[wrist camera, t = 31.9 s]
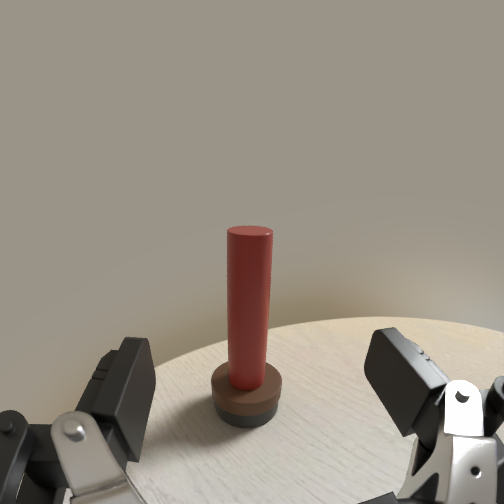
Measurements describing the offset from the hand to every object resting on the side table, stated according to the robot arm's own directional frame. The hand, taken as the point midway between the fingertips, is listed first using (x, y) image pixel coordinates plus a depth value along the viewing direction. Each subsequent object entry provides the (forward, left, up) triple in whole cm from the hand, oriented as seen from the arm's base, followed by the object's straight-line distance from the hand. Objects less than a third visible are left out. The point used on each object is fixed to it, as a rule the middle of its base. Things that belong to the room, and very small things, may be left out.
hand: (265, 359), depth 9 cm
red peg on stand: (+4, +7, -11) cm, 14 cm away
